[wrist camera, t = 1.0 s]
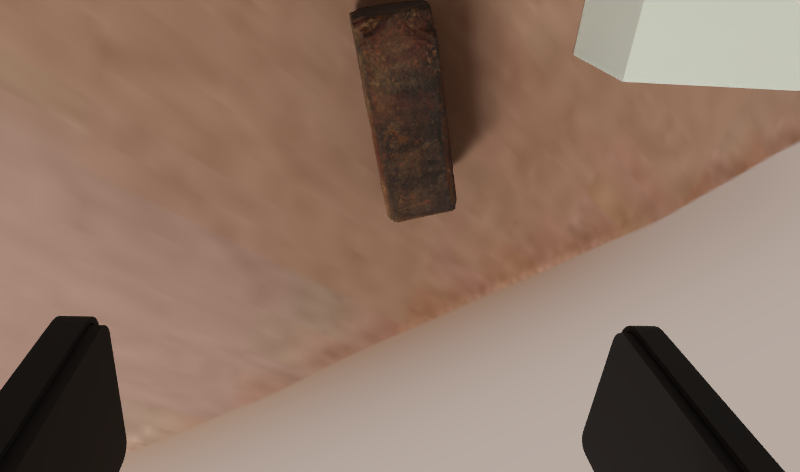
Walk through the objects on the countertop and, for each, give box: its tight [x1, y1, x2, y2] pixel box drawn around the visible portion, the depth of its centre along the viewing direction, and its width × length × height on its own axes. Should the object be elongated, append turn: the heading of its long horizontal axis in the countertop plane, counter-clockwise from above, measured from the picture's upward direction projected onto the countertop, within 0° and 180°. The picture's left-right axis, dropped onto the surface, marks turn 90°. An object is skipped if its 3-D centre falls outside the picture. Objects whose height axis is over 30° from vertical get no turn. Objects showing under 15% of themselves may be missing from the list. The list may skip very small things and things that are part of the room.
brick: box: [349, 0, 456, 222], centre depth 30 cm, size 11×4×5 cm, turn 9°
